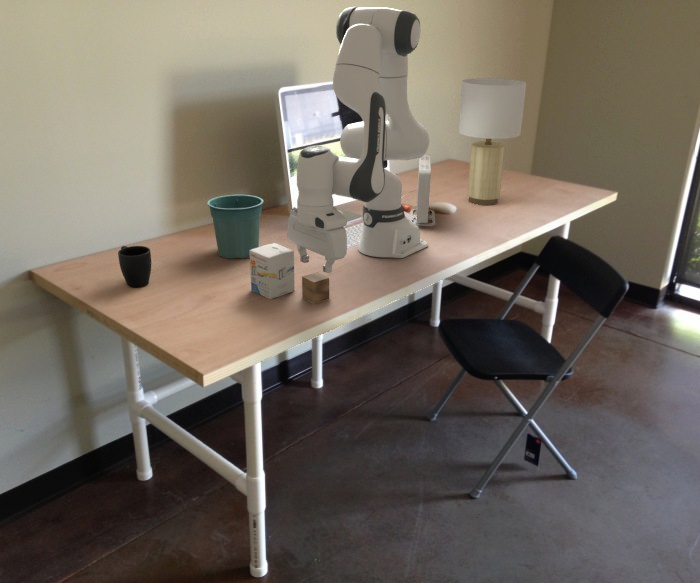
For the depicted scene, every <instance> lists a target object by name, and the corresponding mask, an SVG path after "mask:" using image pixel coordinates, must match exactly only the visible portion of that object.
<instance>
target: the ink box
mask: <svg viewBox="0 0 700 583" xmlns="http://www.w3.org/2000/svg"><path fill="white" fill-rule="evenodd" d="M249 251H250V257H249V264H250V265H249V268H250V269H249V270H250V286H251V287H250V288H251V289H250V290H251V291H252V292H254V293H256V294H258V295H261V296H263V297H265V298H267V299H269V300H273V299H275V298H279V297H282V296H284V295H286V294H289V293H293V292H295V291H296V290H295V288H296V286H295V251H294V250H292V249H291V248H289V247H285V246H283V245H281V244H279V243H276V242H273V243H268V244H264V245H262V246H261V245H260V246H259V247H258V248H255V249H251V250H249Z"/></svg>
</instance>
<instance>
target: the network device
mask: <svg viewBox="0 0 700 583" xmlns="http://www.w3.org/2000/svg"><path fill="white" fill-rule="evenodd" d="M431 172H432V169H431V156H430V155H427V154H426V155H425V154H424V155H423V156H422V157H421V158H418V175H417V177H418V178H417V193H416V195H417V196H416V208H413V209H412V208H411V212H410V213H409V214H411V215H413V216H415V217H417V219H416V223H418V224H416V225H418V227H434V226H436V216H435V213H436V212H435V211H434V210H433V209H430V208H429V207H430V205H429V204H430V192H431V190H430V189H431V174H432V173H431ZM432 210H433V211H432ZM413 211H414V212H416V214H414V212H413ZM428 211H431V212H432V213H431V212H430V213H431V215H429V212H428ZM428 219H431V220H430V221H431V223H428V222H429V220H428ZM433 225H434V226H433Z"/></svg>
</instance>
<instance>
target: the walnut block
mask: <svg viewBox="0 0 700 583" xmlns="http://www.w3.org/2000/svg"><path fill="white" fill-rule="evenodd" d="M301 294H302V299H304V300H306V301H308V302H310V303H312V304H313V305H315V304H318V303H321V302H324V301H327V300H330V277H329V276H327V275H324V274H323V273H320V272H319V271H316V272H312V273H309V274H306V275H303V276H301Z"/></svg>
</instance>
